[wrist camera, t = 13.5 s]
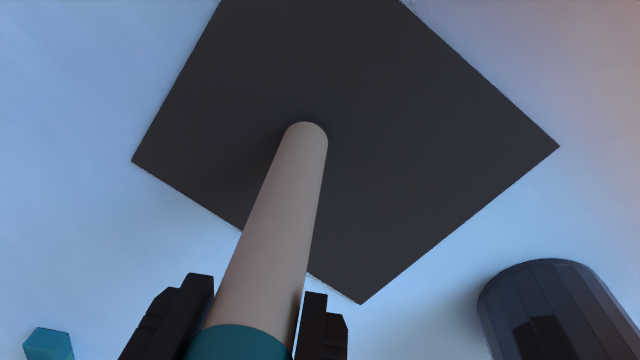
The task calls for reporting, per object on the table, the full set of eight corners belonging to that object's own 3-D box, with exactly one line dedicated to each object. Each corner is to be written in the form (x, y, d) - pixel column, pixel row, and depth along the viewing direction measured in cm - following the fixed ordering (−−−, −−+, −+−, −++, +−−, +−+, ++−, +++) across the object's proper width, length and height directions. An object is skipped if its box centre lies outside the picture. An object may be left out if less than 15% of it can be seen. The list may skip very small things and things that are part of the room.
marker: (271, 145, 24) (67, 579, 7) (299, 108, 22) (128, 538, 6) (310, 173, 24) (207, 624, 8) (340, 139, 23) (290, 597, 7)
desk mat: (133, 158, 26) (130, 161, 26) (282, -105, 18) (281, -106, 18) (360, 301, 31) (360, 305, 31) (557, 143, 23) (560, 146, 23)
